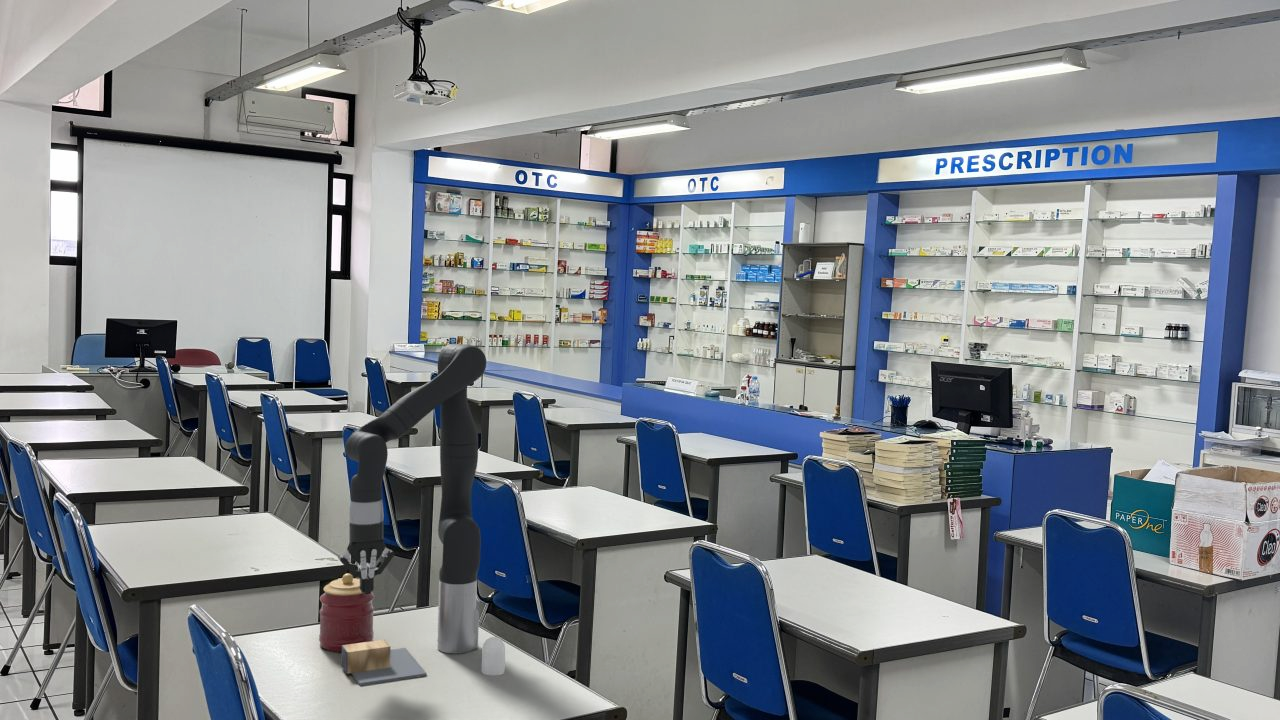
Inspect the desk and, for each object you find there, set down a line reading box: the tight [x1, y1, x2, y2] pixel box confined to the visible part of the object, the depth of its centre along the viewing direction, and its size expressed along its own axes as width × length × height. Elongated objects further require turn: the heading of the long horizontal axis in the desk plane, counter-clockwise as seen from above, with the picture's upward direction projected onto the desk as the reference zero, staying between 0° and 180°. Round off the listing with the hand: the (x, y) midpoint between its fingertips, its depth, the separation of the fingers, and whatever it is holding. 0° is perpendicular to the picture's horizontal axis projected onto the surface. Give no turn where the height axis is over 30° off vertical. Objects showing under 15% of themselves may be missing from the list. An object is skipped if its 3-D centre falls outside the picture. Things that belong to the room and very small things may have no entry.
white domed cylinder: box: [481, 636, 506, 676], centre depth 237 cm, size 5×5×8 cm
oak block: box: [340, 639, 392, 675], centre depth 235 cm, size 5×5×10 cm
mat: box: [351, 647, 427, 687], centre depth 237 cm, size 15×18×1 cm
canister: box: [318, 572, 375, 653], centre depth 251 cm, size 13×13×18 cm
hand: (366, 593), depth 234 cm, fingers closed
